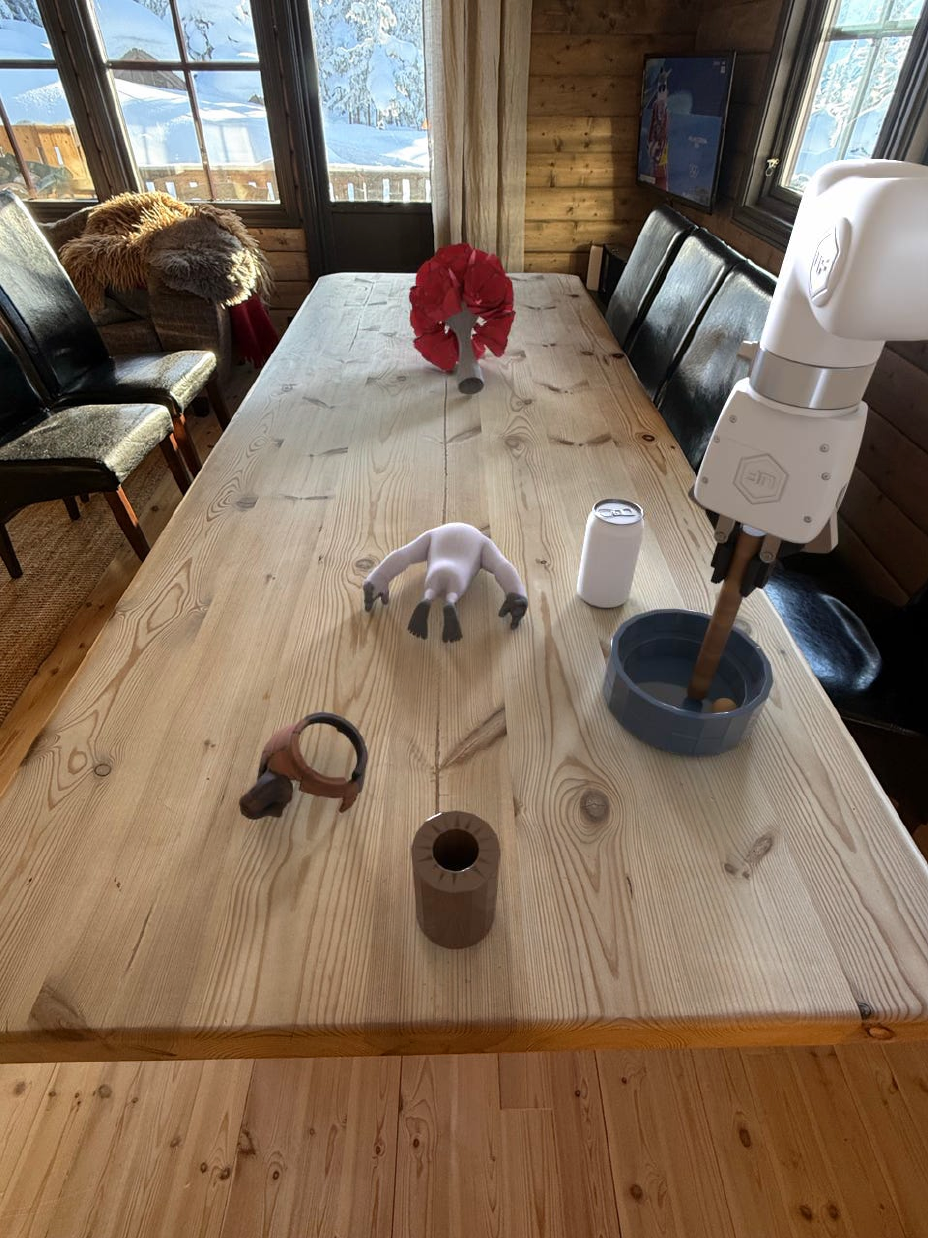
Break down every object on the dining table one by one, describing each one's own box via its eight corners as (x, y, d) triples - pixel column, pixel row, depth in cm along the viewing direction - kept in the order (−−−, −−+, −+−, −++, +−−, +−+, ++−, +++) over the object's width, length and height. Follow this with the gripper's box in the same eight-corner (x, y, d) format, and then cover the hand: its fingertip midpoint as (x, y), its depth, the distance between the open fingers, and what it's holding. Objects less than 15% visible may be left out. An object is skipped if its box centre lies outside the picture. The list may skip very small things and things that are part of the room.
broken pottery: (292, 733, 66) (324, 685, 61) (359, 801, 65) (398, 757, 60) (197, 805, 56) (227, 754, 51) (275, 885, 55) (313, 841, 50)
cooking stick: (706, 702, 67) (768, 538, 54) (686, 698, 67) (742, 534, 54) (706, 688, 68) (765, 524, 55) (686, 685, 69) (740, 521, 55)
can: (571, 579, 84) (583, 497, 76) (620, 576, 85) (637, 494, 77) (583, 611, 79) (597, 527, 71) (635, 608, 80) (655, 524, 72)
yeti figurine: (507, 671, 74) (545, 568, 88) (515, 628, 69) (554, 527, 84) (347, 624, 77) (408, 532, 91) (344, 580, 73) (410, 490, 87)
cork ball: (709, 703, 65) (706, 721, 66) (733, 712, 63) (730, 730, 65) (718, 690, 66) (715, 708, 67) (742, 698, 65) (739, 717, 66)
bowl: (761, 774, 62) (781, 733, 58) (596, 742, 64) (605, 701, 60) (747, 661, 73) (764, 621, 69) (608, 639, 76) (616, 598, 72)
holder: (485, 959, 49) (489, 901, 43) (406, 938, 50) (399, 880, 44) (502, 881, 54) (507, 820, 48) (428, 864, 55) (425, 802, 49)
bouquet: (524, 416, 137) (505, 303, 147) (534, 332, 115) (511, 206, 125) (421, 426, 137) (409, 312, 146) (411, 345, 114) (397, 217, 124)
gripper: (679, 360, 48) (635, 564, 60) (913, 426, 40) (807, 647, 52) (728, 336, 52) (677, 531, 64) (948, 392, 44) (843, 603, 56)
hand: (735, 581), depth 58 cm, fingers closed on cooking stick, 2 cm apart
